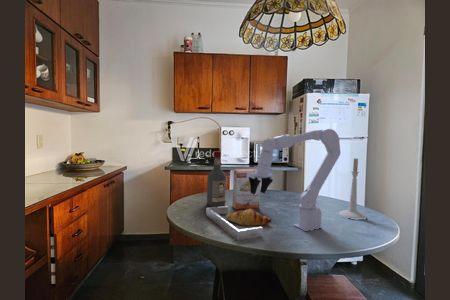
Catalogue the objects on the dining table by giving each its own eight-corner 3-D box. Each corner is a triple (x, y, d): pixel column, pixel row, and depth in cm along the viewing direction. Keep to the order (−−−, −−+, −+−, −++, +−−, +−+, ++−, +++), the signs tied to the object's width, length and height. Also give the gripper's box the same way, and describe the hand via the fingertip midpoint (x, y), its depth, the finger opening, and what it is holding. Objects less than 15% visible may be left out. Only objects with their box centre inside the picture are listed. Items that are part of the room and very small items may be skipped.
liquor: (204, 203, 150) (206, 151, 148) (218, 201, 155) (219, 150, 153) (214, 207, 142) (215, 152, 140) (227, 205, 148) (229, 152, 146)
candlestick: (352, 211, 142) (356, 156, 140) (372, 219, 130) (376, 159, 128) (333, 213, 139) (336, 156, 137) (351, 221, 126) (355, 159, 124)
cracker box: (235, 209, 140) (236, 170, 138) (232, 206, 145) (233, 169, 144) (259, 208, 143) (261, 170, 142) (255, 205, 149) (257, 168, 148)
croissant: (223, 229, 121) (221, 216, 117) (229, 213, 129) (227, 201, 125) (270, 234, 115) (269, 221, 111) (272, 217, 123) (272, 204, 119)
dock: (226, 212, 134) (226, 205, 134) (262, 236, 105) (262, 227, 104) (206, 214, 130) (206, 207, 129) (238, 240, 100) (238, 231, 100)
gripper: (266, 162, 128) (260, 189, 129) (247, 161, 117) (241, 190, 119) (278, 166, 123) (272, 194, 125) (260, 166, 113) (253, 196, 114)
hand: (257, 193), depth 121 cm, fingers open, 7 cm apart
